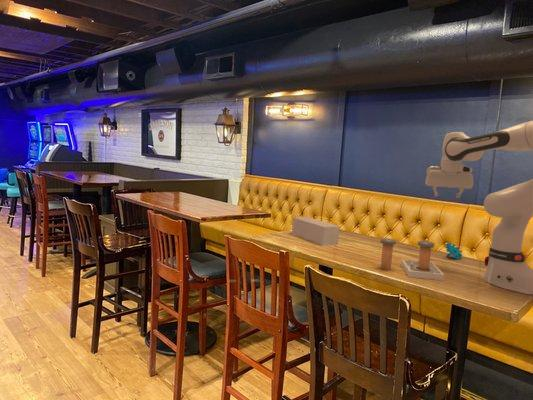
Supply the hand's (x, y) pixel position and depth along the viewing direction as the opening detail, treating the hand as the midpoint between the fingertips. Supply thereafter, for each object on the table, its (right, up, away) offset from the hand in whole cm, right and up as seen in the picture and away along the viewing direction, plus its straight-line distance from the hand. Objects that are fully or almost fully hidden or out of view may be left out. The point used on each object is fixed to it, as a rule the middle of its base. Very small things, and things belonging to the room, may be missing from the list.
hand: (447, 197), depth 187 cm
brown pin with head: (-31, -33, -8) cm, 46 cm away
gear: (+14, -32, +24) cm, 42 cm away
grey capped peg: (-17, -33, -14) cm, 40 cm away
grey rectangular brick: (-56, -25, +52) cm, 80 cm away
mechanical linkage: (+28, -35, +5) cm, 45 cm away
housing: (-16, -34, -10) cm, 39 cm away
